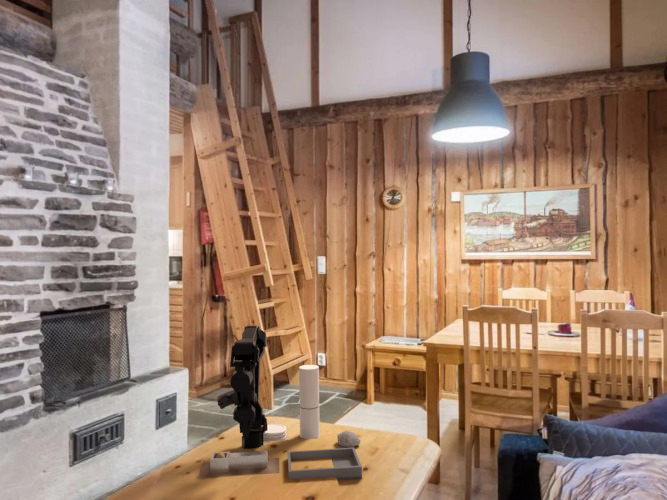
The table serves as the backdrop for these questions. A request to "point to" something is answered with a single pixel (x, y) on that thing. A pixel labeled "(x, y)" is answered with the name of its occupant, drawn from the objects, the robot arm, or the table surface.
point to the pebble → (348, 439)
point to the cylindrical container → (309, 401)
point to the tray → (343, 468)
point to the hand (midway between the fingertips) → (246, 432)
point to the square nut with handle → (238, 461)
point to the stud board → (272, 468)
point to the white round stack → (275, 432)
